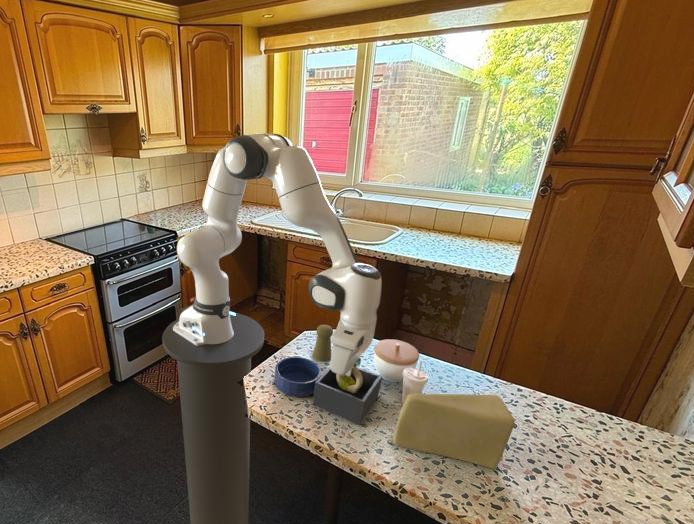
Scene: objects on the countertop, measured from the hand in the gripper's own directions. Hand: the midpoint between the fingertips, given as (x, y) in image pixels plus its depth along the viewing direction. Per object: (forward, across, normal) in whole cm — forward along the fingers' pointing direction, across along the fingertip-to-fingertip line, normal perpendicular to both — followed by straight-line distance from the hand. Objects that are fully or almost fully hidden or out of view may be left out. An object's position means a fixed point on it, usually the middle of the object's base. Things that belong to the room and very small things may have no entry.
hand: (350, 371), depth 107 cm
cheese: (+10, +3, +26) cm, 28 cm away
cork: (+10, -17, -16) cm, 25 cm away
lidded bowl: (+10, -20, +6) cm, 23 cm away
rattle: (+6, -1, +1) cm, 6 cm away
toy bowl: (+10, +1, -15) cm, 18 cm away
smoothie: (+10, -10, +14) cm, 20 cm away
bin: (+10, 0, 0) cm, 10 cm away
